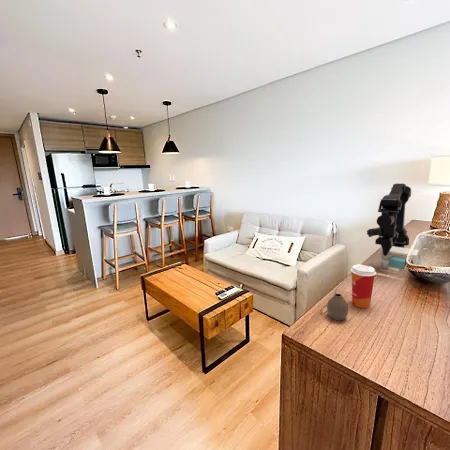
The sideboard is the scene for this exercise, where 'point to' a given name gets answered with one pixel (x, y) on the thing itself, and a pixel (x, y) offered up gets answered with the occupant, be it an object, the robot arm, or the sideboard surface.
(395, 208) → the robot arm
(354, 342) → the sideboard surface
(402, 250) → the tunnel
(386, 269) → the sled
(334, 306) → the vase
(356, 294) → the coffee cup
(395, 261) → the block
